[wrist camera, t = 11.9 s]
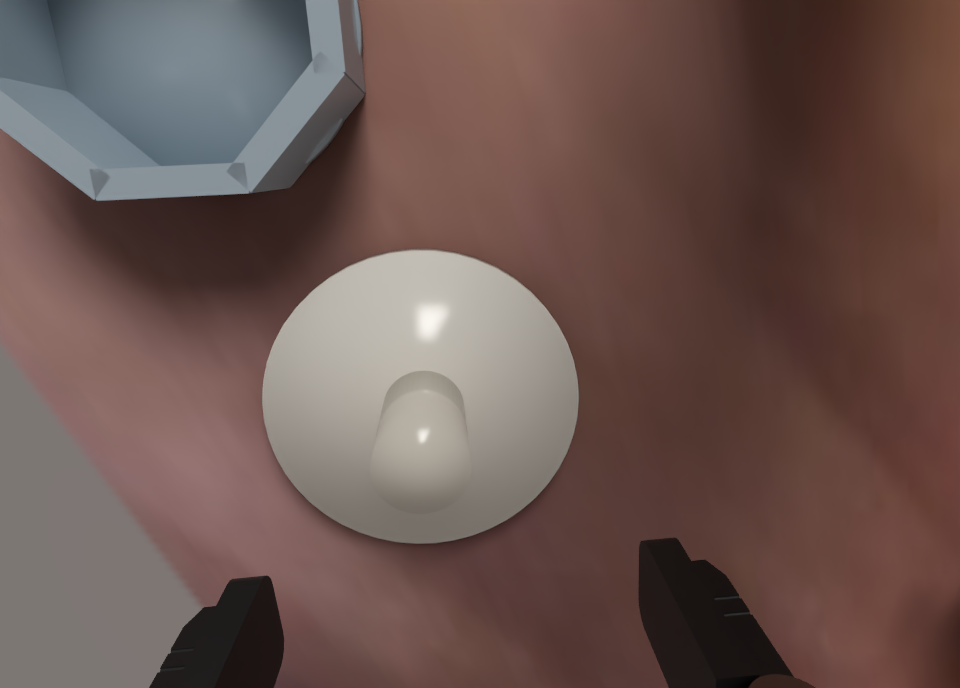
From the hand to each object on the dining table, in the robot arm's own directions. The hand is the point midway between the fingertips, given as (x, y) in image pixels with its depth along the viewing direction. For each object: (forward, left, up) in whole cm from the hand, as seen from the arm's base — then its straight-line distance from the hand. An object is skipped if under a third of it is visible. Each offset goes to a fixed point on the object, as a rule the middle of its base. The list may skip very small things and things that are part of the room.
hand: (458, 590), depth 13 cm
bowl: (+7, -13, -11) cm, 18 cm away
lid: (+1, 0, -10) cm, 10 cm away
